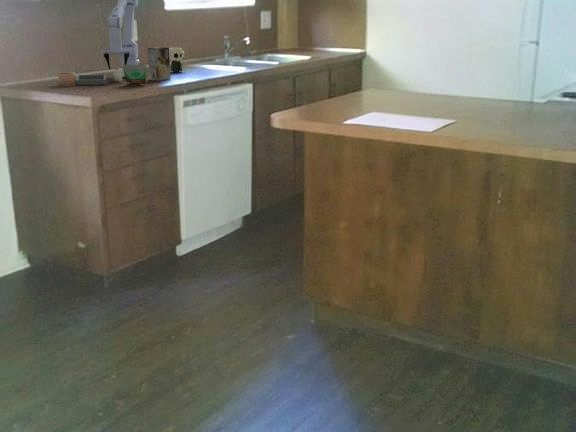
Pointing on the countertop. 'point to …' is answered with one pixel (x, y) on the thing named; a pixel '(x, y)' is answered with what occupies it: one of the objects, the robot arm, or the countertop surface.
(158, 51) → the coffee box
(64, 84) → the pot
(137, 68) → the food container
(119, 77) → the cell
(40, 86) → the countertop surface
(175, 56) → the big headed figurine
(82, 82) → the tray
